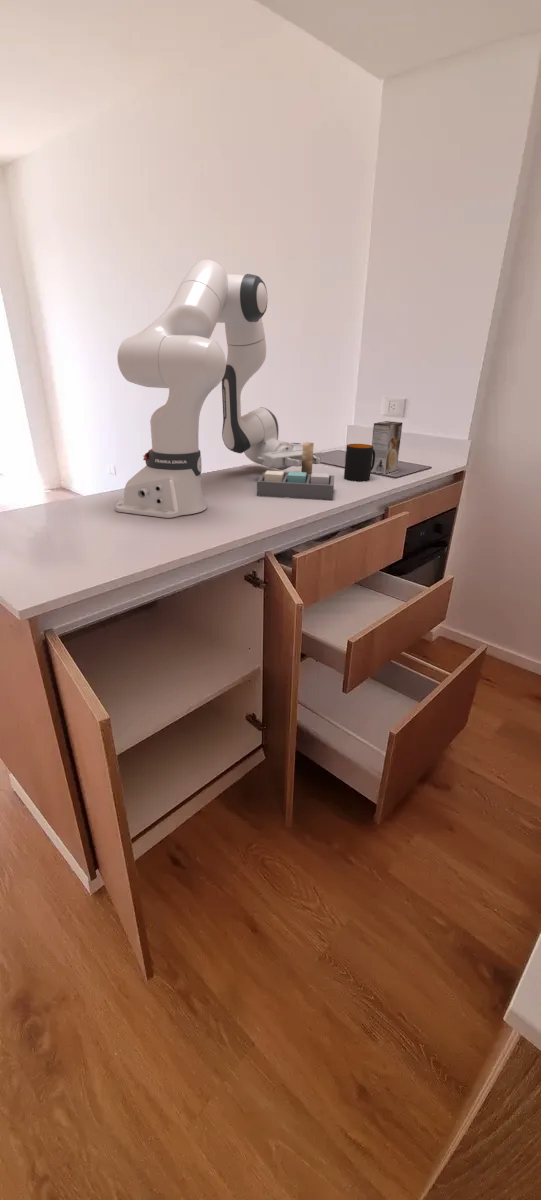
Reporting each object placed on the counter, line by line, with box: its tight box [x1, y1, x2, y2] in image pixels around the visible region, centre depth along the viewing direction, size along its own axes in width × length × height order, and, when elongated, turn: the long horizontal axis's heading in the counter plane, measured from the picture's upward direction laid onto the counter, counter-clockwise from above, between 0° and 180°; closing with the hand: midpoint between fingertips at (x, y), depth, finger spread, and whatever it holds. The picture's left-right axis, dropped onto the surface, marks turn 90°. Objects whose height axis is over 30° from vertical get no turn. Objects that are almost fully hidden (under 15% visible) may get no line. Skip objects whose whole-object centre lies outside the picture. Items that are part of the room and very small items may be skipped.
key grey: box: [310, 472, 330, 485], centre depth 147 cm, size 5×5×3 cm
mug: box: [343, 443, 375, 483], centre depth 166 cm, size 8×12×10 cm
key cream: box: [264, 470, 285, 482], centre depth 148 cm, size 5×5×3 cm
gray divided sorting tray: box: [256, 471, 335, 501], centre depth 148 cm, size 21×13×4 cm, turn 83°
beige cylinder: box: [300, 441, 315, 474], centre depth 157 cm, size 3×3×12 cm
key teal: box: [287, 471, 307, 483], centre depth 147 cm, size 5×5×3 cm
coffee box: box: [371, 420, 403, 475], centre depth 176 cm, size 9×6×16 cm
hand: (309, 462), depth 156 cm, fingers open, 6 cm apart
